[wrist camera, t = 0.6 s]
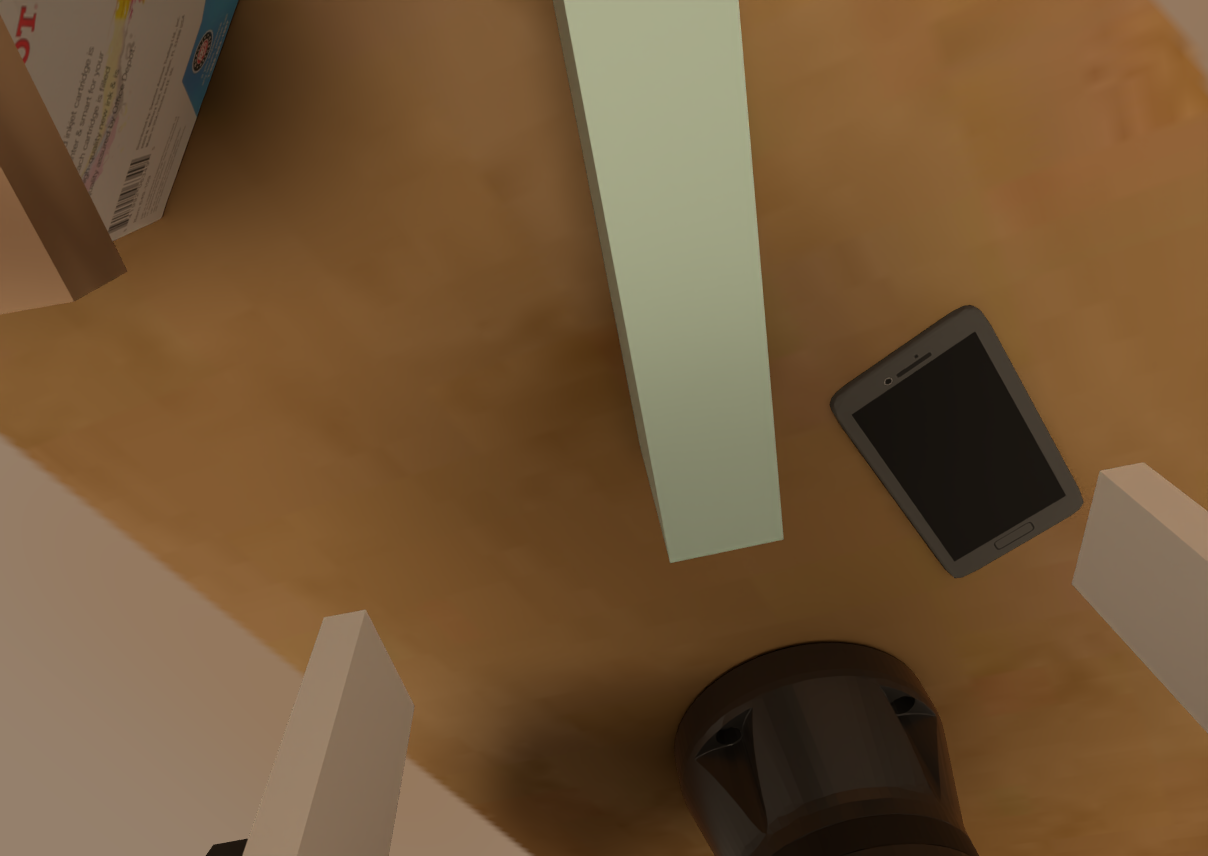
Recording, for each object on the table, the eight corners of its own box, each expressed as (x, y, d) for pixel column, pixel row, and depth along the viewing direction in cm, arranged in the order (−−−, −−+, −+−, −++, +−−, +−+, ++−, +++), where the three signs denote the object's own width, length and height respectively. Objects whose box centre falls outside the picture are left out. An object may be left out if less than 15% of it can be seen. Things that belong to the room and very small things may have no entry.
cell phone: (948, 575, 37) (956, 584, 37) (819, 396, 31) (825, 404, 31) (1079, 498, 35) (1089, 507, 35) (968, 293, 30) (978, 299, 29)
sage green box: (728, 428, 31) (783, 539, 24) (432, 490, 32) (403, 618, 25) (619, -465, 18) (672, -780, 11) (114, -346, 18) (-144, -582, 11)
